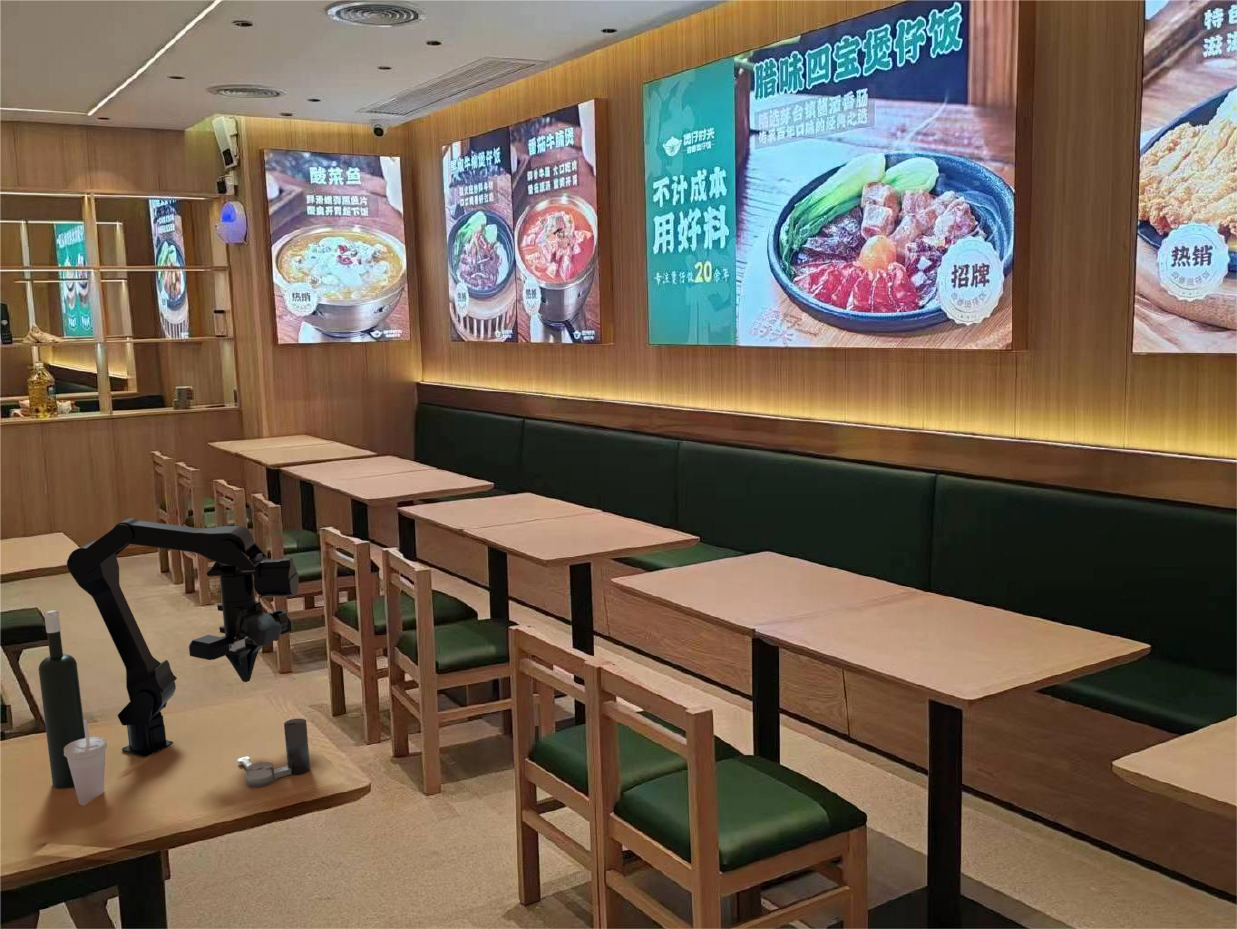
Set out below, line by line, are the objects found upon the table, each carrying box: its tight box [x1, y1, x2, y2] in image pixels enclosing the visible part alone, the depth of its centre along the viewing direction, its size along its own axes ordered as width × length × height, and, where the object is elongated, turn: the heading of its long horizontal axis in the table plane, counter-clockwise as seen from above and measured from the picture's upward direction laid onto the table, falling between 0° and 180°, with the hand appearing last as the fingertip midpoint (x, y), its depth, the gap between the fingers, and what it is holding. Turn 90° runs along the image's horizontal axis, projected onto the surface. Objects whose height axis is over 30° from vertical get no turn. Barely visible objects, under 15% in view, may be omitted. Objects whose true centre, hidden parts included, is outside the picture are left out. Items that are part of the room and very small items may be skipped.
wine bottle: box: [38, 610, 85, 789], centre depth 187 cm, size 6×6×30 cm
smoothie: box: [64, 718, 108, 807], centre depth 181 cm, size 6×6×14 cm
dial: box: [236, 718, 311, 788], centre depth 188 cm, size 10×12×8 cm
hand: (246, 681), depth 200 cm, fingers closed
